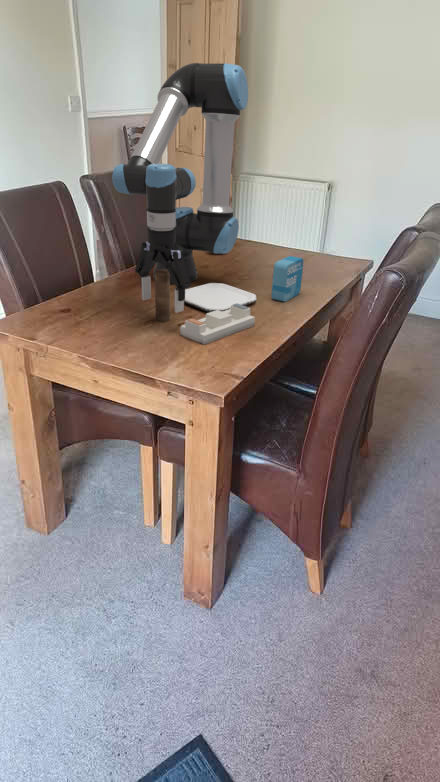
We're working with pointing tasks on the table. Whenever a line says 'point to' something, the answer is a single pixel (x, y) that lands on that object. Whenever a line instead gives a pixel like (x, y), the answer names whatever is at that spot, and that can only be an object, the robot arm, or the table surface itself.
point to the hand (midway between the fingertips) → (162, 305)
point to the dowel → (162, 295)
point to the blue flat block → (287, 278)
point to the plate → (217, 297)
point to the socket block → (218, 324)
